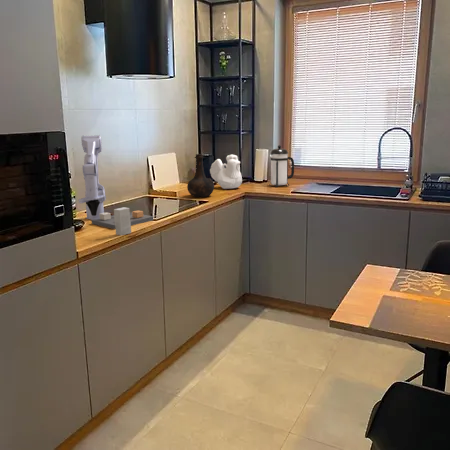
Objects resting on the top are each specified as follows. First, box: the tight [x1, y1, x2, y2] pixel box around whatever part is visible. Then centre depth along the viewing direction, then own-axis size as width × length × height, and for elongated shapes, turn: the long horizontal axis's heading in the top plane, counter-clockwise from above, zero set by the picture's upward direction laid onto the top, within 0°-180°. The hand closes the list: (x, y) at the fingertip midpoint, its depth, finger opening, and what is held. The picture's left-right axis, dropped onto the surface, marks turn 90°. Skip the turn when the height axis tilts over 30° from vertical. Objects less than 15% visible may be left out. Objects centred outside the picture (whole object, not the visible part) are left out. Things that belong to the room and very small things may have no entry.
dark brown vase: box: [186, 153, 215, 198], centre depth 304 cm, size 18×18×28 cm
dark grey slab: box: [90, 211, 154, 230], centre depth 238 cm, size 20×24×2 cm
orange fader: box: [131, 210, 144, 218], centre depth 239 cm, size 4×4×3 cm
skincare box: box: [113, 206, 132, 237], centre depth 213 cm, size 6×4×12 cm
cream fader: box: [99, 211, 112, 220], centre depth 235 cm, size 4×4×3 cm
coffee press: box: [269, 144, 295, 188], centre depth 340 cm, size 17×16×30 cm
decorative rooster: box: [209, 154, 243, 190], centre depth 336 cm, size 25×16×25 cm, turn 48°
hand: (93, 215), depth 230 cm, fingers closed
